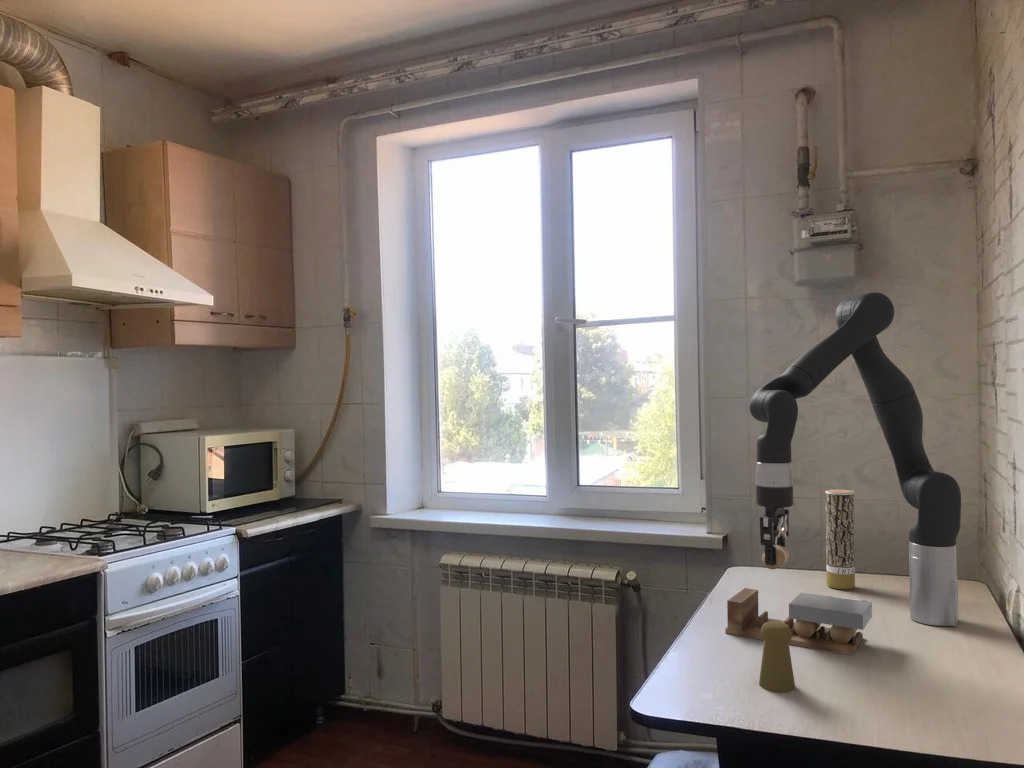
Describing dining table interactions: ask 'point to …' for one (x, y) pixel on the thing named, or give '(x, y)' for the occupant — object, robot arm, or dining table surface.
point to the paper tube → (840, 539)
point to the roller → (778, 557)
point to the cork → (776, 658)
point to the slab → (831, 610)
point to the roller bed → (803, 632)
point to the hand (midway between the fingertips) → (775, 561)
